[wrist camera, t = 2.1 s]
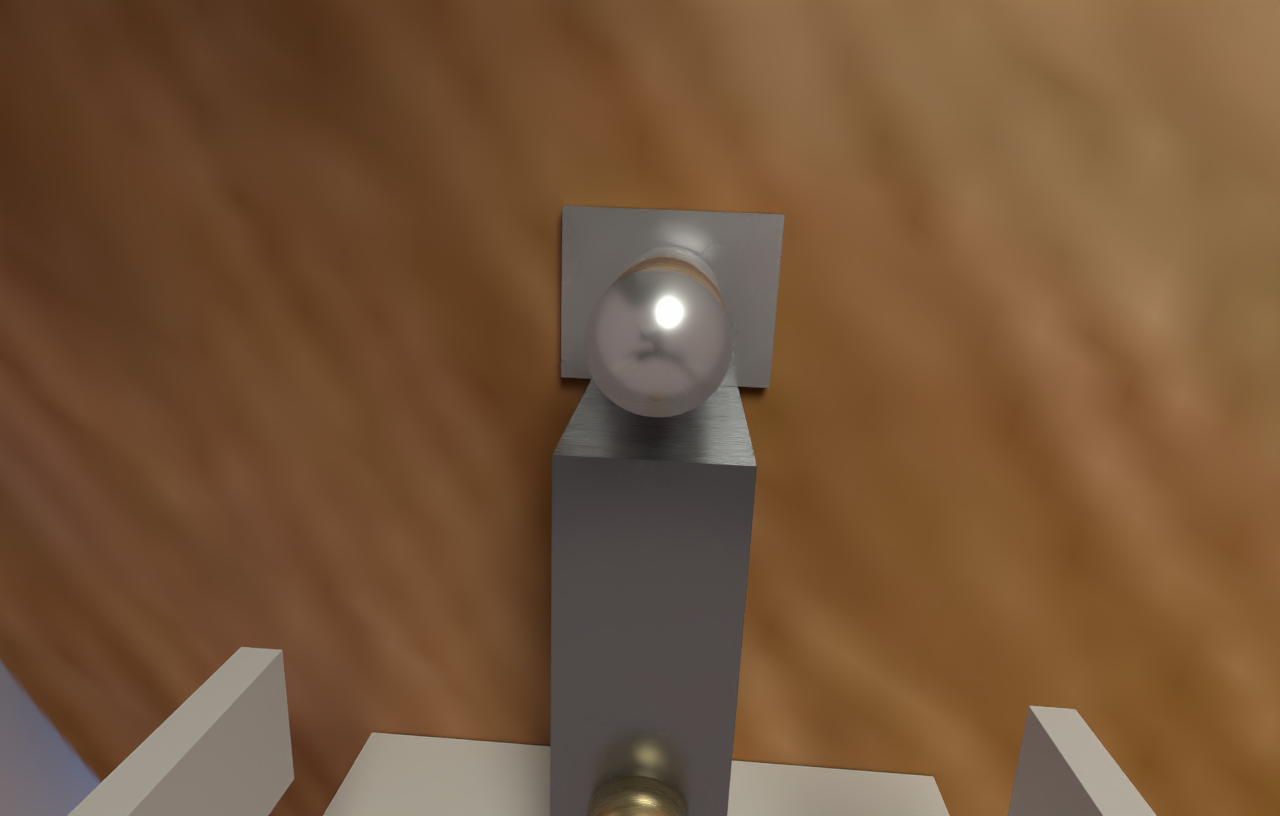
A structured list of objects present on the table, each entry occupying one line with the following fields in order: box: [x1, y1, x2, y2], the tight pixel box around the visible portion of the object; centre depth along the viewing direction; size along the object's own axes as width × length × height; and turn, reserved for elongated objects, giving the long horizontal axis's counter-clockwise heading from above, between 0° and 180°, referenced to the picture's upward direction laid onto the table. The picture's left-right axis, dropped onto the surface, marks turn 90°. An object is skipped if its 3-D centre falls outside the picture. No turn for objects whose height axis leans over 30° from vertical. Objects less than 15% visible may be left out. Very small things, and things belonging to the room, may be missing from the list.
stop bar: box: [550, 379, 757, 816], centre depth 17 cm, size 9×4×7 cm, turn 178°
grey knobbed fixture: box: [561, 206, 784, 417], centre depth 15 cm, size 4×5×6 cm
